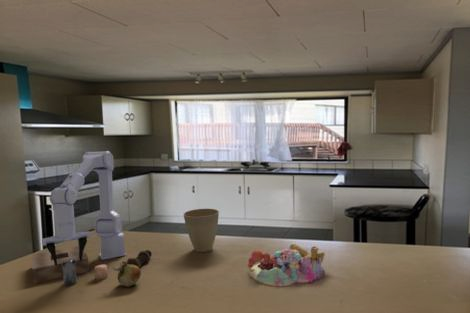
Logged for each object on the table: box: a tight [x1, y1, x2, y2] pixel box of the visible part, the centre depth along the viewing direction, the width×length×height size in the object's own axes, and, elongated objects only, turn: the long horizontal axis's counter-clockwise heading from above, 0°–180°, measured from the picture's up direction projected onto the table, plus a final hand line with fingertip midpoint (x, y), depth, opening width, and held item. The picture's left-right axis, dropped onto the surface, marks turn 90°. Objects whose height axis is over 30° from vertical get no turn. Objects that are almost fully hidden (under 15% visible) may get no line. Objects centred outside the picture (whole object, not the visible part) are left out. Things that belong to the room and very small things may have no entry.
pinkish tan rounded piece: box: [94, 264, 109, 281], centre depth 127 cm, size 4×4×4 cm
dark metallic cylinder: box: [62, 259, 78, 287], centre depth 123 cm, size 4×4×8 cm
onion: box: [112, 261, 142, 288], centre depth 120 cm, size 8×8×8 cm
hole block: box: [32, 245, 90, 284], centre depth 137 cm, size 18×18×5 cm
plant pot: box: [183, 208, 220, 253], centre depth 152 cm, size 15×15×16 cm
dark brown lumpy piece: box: [126, 249, 153, 270], centre depth 138 cm, size 6×5×15 cm
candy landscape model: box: [247, 243, 326, 288], centre depth 125 cm, size 25×24×9 cm
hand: (68, 261), depth 122 cm, fingers open, 7 cm apart
